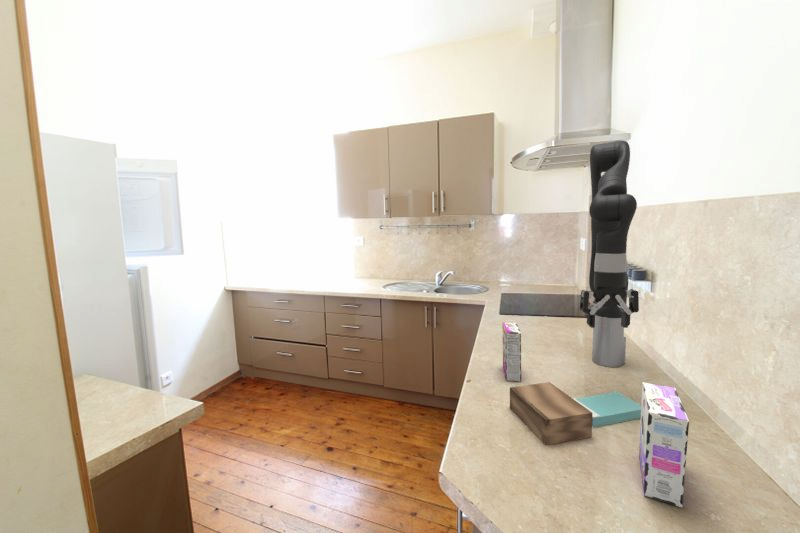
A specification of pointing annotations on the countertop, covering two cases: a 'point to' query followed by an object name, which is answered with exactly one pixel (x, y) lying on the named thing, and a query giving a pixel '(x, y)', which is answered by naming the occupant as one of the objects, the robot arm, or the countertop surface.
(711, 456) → the countertop surface
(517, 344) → the candy bar box
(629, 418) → the thin teal board
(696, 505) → the countertop surface
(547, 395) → the wood block
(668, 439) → the candy box
